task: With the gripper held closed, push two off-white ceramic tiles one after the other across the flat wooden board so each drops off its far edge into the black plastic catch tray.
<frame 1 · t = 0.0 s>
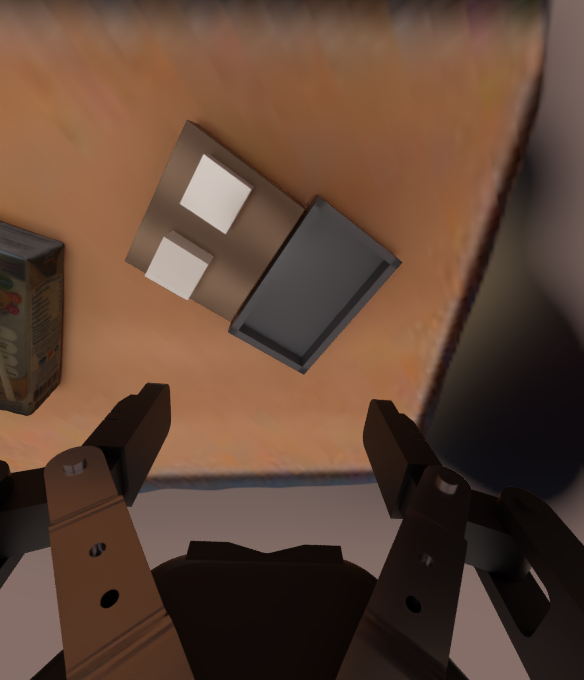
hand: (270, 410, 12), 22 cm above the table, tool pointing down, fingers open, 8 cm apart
tray: (308, 290, 34), on the table
flat wooden board: (217, 229, 30), on the table
beverage carton: (29, 309, 34), on the table
tile a: (220, 193, 26), point 3 cm above the table, touching flat wooden board
tile b: (184, 261, 29), point 3 cm above the table, touching flat wooden board
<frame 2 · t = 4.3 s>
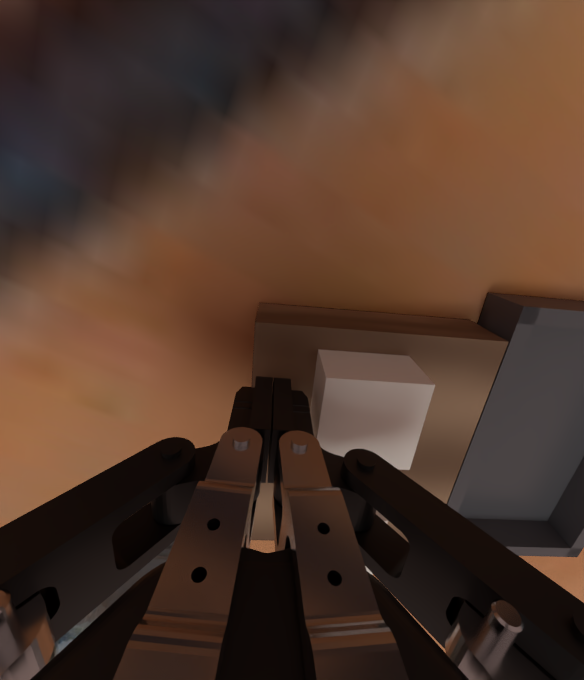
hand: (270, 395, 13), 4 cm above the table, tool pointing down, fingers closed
tray: (522, 427, 19), on the table
flat wooden board: (346, 417, 18), on the table
beverage carton: (140, 604, 25), on the table
tile a: (356, 392, 14), point 3 cm above the table, touching gripper
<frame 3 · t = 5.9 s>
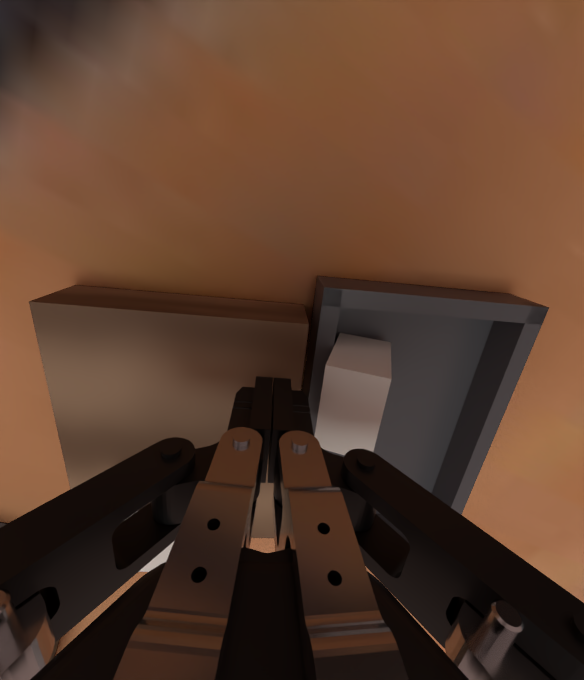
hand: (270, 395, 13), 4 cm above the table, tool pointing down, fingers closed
tray: (382, 417, 19), on the table
flat wooden board: (194, 406, 18), on the table
tile a: (327, 385, 15), point 3 cm above the table, tilted 71°
tile b: (162, 495, 16), point 3 cm above the table, touching flat wooden board
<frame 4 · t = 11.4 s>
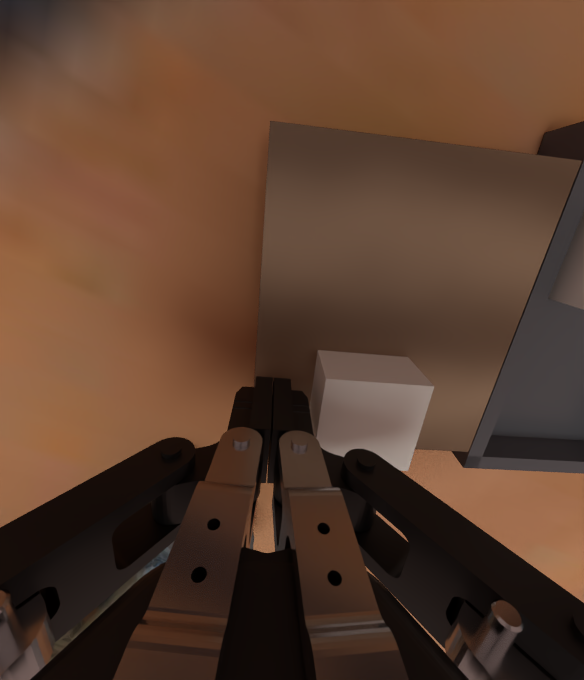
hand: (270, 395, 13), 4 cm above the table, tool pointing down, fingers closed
tray: (572, 320, 17), on the table
flat wooden board: (371, 303, 16), on the table
beverage carton: (121, 539, 22), on the table
tile a: (582, 255, 13), point 3 cm above the table, tilted 90°, touching tray
tile b: (355, 393, 14), point 3 cm above the table, touching gripper
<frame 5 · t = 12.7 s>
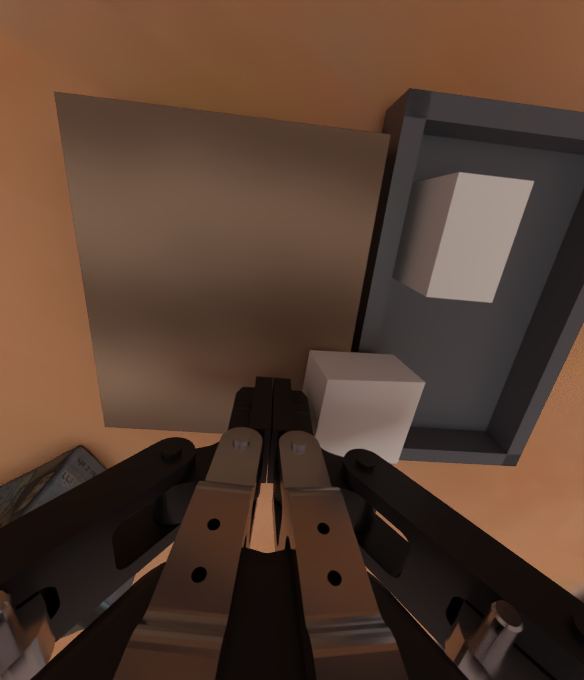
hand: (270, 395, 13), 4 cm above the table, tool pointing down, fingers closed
tray: (447, 306, 16), on the table
flat wooden board: (234, 287, 15), on the table
beverage carton: (20, 529, 22), on the table
tile a: (417, 235, 12), point 3 cm above the table, tilted 90°, touching tray
tile b: (343, 391, 14), point 3 cm above the table, tilted 10°, touching flat wooden board, gripper
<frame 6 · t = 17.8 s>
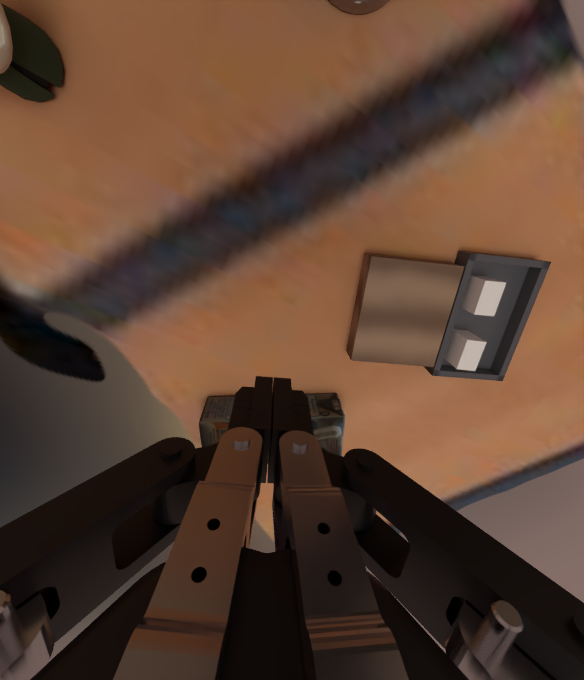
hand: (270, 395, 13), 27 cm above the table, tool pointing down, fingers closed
tray: (476, 316, 42), on the table
flat wooden board: (396, 308, 41), on the table
beverage carton: (273, 414, 47), on the table
character mug: (33, 65, 30), on the table
tile a: (469, 293, 38), point 3 cm above the table, tilted 90°, touching tray
tile b: (453, 348, 40), point 3 cm above the table, tilted 90°, touching tray
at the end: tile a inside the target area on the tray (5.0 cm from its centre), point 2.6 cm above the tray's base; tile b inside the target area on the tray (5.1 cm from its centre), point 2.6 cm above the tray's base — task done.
